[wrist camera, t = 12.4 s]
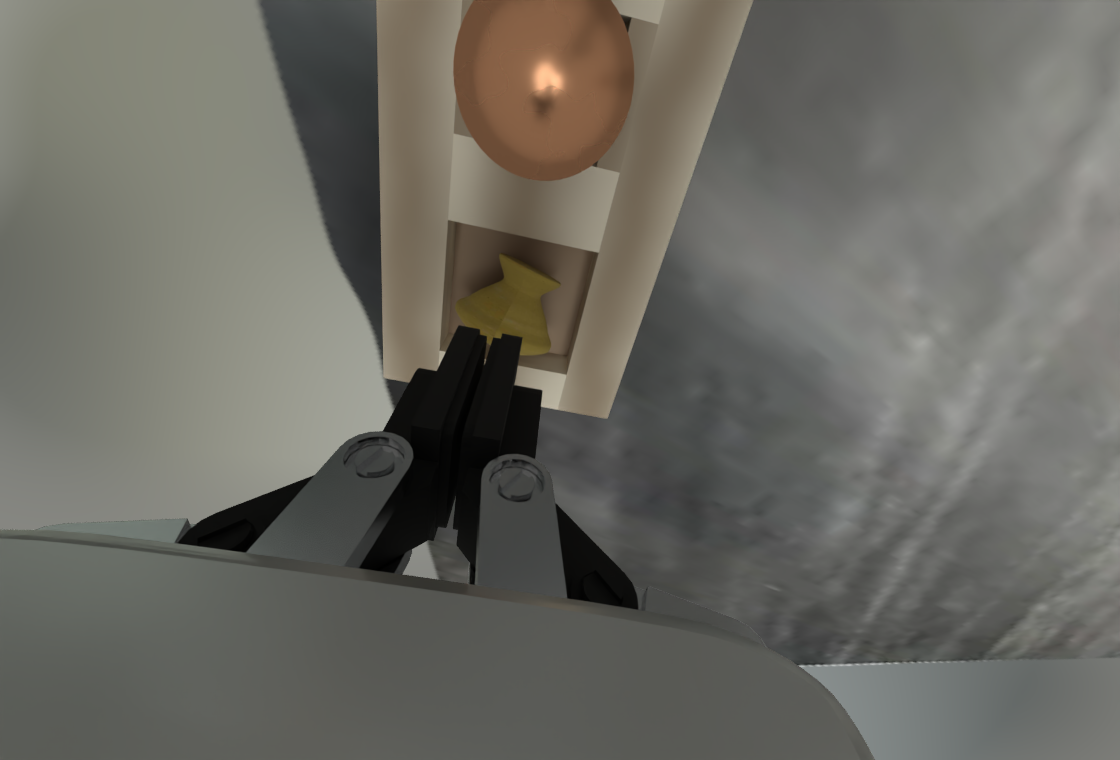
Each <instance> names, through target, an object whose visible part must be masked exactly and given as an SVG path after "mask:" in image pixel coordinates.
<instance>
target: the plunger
mask: <svg viewBox="0 0 1120 760" xmlns="http://www.w3.org/2000/svg"><path fill="white" fill-rule="evenodd" d="M453 77H454V87H455V93H456V98H457V103H458V106H459V109H460V112H461V115H462V118H463V120H464V122H465V124H466V127H467V129H468V130H469V132H470V134H471V135H472V137H473V139H474V140H475V142H476V143H477V144H478V146H479V147H480V148H481V149H482V151H483V152H484V153H485V154H486V155H487V156H488V157H489V158H490V159H491V160H493V161H494V162H495V163H496V164H498V165H499V166H500V167H502V168H504V169H505V170H507V171H508V172H511V173H513V174H515V175H517V176H520V177H523V178H527V179H531V180H537V181H554V180H561V179H565V178H568V177H571V176H574V175H576V174H578V173H581V172H582V171H584V170H586V169H587V168H589V167H591V166H592V165H593V164H594V163H596V162H597V161H598V160H599V159H600V158H601V157H602V156H603V155H604V154H605V153H606V152H607V151H608V150H609V148H610V147H611V146H612V144H613V143H614V142H615V140H616V138H617V137H618V135H619V133H620V132H621V130H622V127H623V125H624V123H625V121H626V118H627V115H628V112H629V109H630V106H631V100H632V95H633V88H634V59H633V52H632V47H631V43H630V39H629V35H628V32H627V29H626V27H625V24H624V21H623V19H622V17H621V15H620V14H619V12H618V10H617V8H616V6H615V5H614V4H613V2H612V1H611V0H474V1H473V2H472V4H471V5H470V7H469V9H468V11H467V13H466V15H465V17H464V19H463V21H462V24H461V27H460V30H459V32H458V36H457V41H456V45H455V52H454V60H453Z"/></svg>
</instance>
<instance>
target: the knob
mask: <svg viewBox="0 0 1120 760" xmlns="http://www.w3.org/2000/svg"><path fill="white" fill-rule="evenodd" d="M499 259H500V262H501V266H502V269H503V273H504V278H503V280H501V281H499V282H497V283H495V284H492V285H490V286H487V287H485V288H482V289H480V290H478V291H477V292H475V293H473V294H471V295H470V296H467V297H464V298H461V299H459V300H458V301H457V302H456V305H455V310H456V312H457V314H458V316H459V317H460V319H461V321H462V322H463V323H464V324H465V326H466V327H472V328H477V329H480V335H484V336H487V343H488V344H490V345H491V343H492V339H493V337H495V338H500V339H501V336H502V333H503V334H509V335H514V336H519V337H523V339H522V345H521V351H520V355H540V354H544V353H547V352H548V351H549V350H550V348H551V341H550V338H549V335H548V329H547V323H546V319H545V315H544V312H543V308H542V304H541V300H540V298H541V296H542V295H543V294H545V293H547V292H550V291H552V290H555V289H557V288H559V287H560V286H561V283H560V282H559V281H557V280H556V279H554V278H552V277H551V276H549V275H547V274H545V273H543V272H542V271H540V270H538V269H536V268H534V267H532V266H530V265H528V264H526V263H524V262H522V261H520V260H518V259H516V258H513V257H511V256H509V255H506V254H504V253H500V254H499Z"/></svg>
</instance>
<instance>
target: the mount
mask: <svg viewBox="0 0 1120 760" xmlns="http://www.w3.org/2000/svg"><path fill="white" fill-rule="evenodd" d="M473 1H474V0H376V2H377V55H378V107H379V159H380V211H381V263H382V315H383V367H384V378H387V379H393V380H398V381H404V382H410V380H411V379H412V377H413V375H414V373H415V371H416V370H417V369H418V368H423V369H429V370H434V371H437V369H438V367H439V365H440V363H441V361H442V359H443V357H444V355H445V352H446V350H447V348H448V346H449V344H450V342H451V340H452V338H453V336H454V333H455V331H456V329H457V327H458V326H459V325H461V326H465V324H464V323H463V322H462V321H461V319H460V317H459V316H458V314H457V312H456V310H455V305H456V302H457V301H458V300H459V299H461V298H464V297H467V296H470V295H471V294H473V293H475V292H477V291H478V290H480V289H482V288H485V287H487V286H490V285H492V284H495V283H497V282H499V281H501V280H503V278H504V273H503V269H502V266H501V262H500V259H499V254H500V253H504V254H506V255H509V256H511V257H513V258H516V259H518V260H520V261H522V262H524V263H526V264H528V265H530V266H532V267H534V268H536V269H538V270H540V271H542V272H543V273H545V274H547V275H549V276H551V277H552V278H554V279H556V280H557V281H559V282H560V283H561V286H560V287H559V288H557V289H555V290H552V291H550V292H547V293H545V294H543V295H542V296H541V298H540V300H541V304H542V308H543V312H544V315H545V319H546V323H547V329H548V335H549V338H550V341H551V348H550V350H549V351H548V352H547V353H544V354H540V355H520V357H519V363H518V368H517V374H516V380H515V385H517V386H523V387H529V388H534V389H540V390H542V391H543V392H542V401H541V407H546V408H551V409H556V410H562V411H567V412H573V413H578V414H584V415H589V416H595V417H600V418H606V419H607V418H608V416H609V413H610V410H611V407H612V404H613V401H614V398H615V395H616V393H617V390H618V387H619V384H620V381H621V378H622V375H623V373H624V370H625V367H626V364H627V361H628V358H629V355H630V352H631V350H632V347H633V344H634V341H635V338H636V335H637V332H638V329H639V327H640V324H641V321H642V318H643V315H644V312H645V309H646V307H647V304H648V301H649V298H650V295H651V292H652V289H653V286H654V284H655V281H656V278H657V275H658V272H659V269H660V266H661V264H662V261H663V258H664V255H665V252H666V249H667V246H668V243H669V241H670V238H671V235H672V232H673V229H674V226H675V223H676V221H677V218H678V215H679V212H680V209H681V206H682V203H683V200H684V198H685V195H686V192H687V189H688V186H689V183H690V180H691V178H692V175H693V172H694V169H695V166H696V163H697V160H698V157H699V155H700V152H701V149H702V146H703V143H704V140H705V137H706V134H707V132H708V129H709V126H710V123H711V120H712V117H713V114H714V112H715V109H716V106H717V103H718V100H719V97H720V94H721V91H722V89H723V86H724V83H725V80H726V77H727V74H728V71H729V69H730V66H731V63H732V60H733V57H734V54H735V51H736V48H737V46H738V43H739V40H740V37H741V34H742V31H743V28H744V26H745V23H746V20H747V17H748V14H749V11H750V8H751V5H752V3H753V0H611V1H612V2H613V4H614V5H615V6H616V8H617V10H618V12H619V14H620V15H621V17H622V19H623V21H624V24H625V27H626V29H627V32H628V35H629V39H630V43H631V47H632V52H633V59H634V88H633V95H632V100H631V106H630V109H629V112H628V115H627V118H626V121H625V123H624V125H623V127H622V130H621V132H620V133H619V135H618V137H617V138H616V140H615V142H614V143H613V144H612V146H611V147H610V148H609V150H608V151H607V152H606V153H605V154H604V155H603V156H602V157H601V158H600V159H599V160H598V161H597V162H596V163H594V164H593V165H592V166H591V167H589V168H587V169H586V170H584V171H582V172H581V173H578V174H576V175H574V176H571V177H568V178H565V179H561V180H554V181H537V180H531V179H527V178H523V177H520V176H517V175H515V174H513V173H511V172H508V171H507V170H505V169H504V168H502V167H500V166H499V165H498V164H496V163H495V162H494V161H493V160H491V159H490V158H489V157H488V156H487V155H486V154H485V153H484V152H483V151H482V149H481V148H480V147H479V146H478V144H477V143H476V142H475V140H474V139H473V137H472V135H471V134H470V132H469V130H468V129H467V127H466V124H465V122H464V120H463V118H462V115H461V112H460V109H459V106H458V103H457V98H456V93H455V87H454V77H453V60H454V52H455V45H456V41H457V36H458V32H459V30H460V27H461V24H462V21H463V19H464V17H465V15H466V13H467V11H468V9H469V7H470V5H471V4H472V2H473ZM490 346H491V345H490V344H488V343H487V344H486V353H485V361H486V358H487V355H488V352H489V349H490ZM485 361H484V364H485Z"/></svg>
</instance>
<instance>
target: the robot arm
mask: <svg viewBox="0 0 1120 760" xmlns="http://www.w3.org/2000/svg"><path fill="white" fill-rule="evenodd" d="M522 339H523V337H519V336H514V335H509V334H503V333H502V336H501V339H500V338H495V337H493V339H492V343H491V346H490V349H489V352H488V355H487V358H486V361H485V353H486V344H487V336H484V335H480V329H477V328H472V327H466V326H461V325H459V326H458V327H457V329H456V331H455V333H454V336H453V338H452V340H451V342H450V344H449V346H448V348H447V350H446V352H445V355H444V357H443V359H442V361H441V363H440V365H439V367H438V369H437V371H434V370H429V369H423V368H418V369H417V370H416V371H415V373H414V375H413V377H412V379H411V380H410V382H409V384H408V386H407V388H406V390H405V391H404V393H403V395H402V397H401V399H400V401H399V402H398V404H397V406H396V408H395V410H394V412H393V413H392V415H391V417H390V419H389V421H388V423H387V425H386V426H385V428H384V430H383V431H380V432H368V433H364V434H360V435H357V436H355V437H353V438H351V439H349V440H348V441H346V442H345V443H344V444H343V445H342V446H340V447H339V449H338V450H337V451H336V452H335V453H334V454H333V455H332V456H331V458H330V459H329V460H328V461H327V462H326V463H325V464H324V466H323V467H322V468H321V469H320V470H319V471H318V472H317V473H316V474H315V475H314V476H312V477H309V478H306V479H304V480H301V481H298V482H296V483H293V484H290V485H288V486H285V487H283V488H280V489H277V490H275V491H272V492H270V493H267V494H264V495H262V496H259V497H257V498H254V499H252V500H249V501H246V502H244V503H241V504H238V505H236V506H233V507H231V508H228V509H225V510H223V511H220V512H218V513H215V514H213V515H211V516H209V517H207V518H205V519H203V520H201V521H200V522H199V523H197V524H189V521H188V519H165V520H141V521H140V520H139V521H116V522H91V523H67V524H58V525H52V526H46V527H42V528H39V529H36V530H0V760H875V759H874V757H873V755H872V753H871V752H870V749H869V747H868V746H867V744H866V742H865V740H864V739H863V737H862V735H861V734H860V732H859V730H858V728H857V727H856V725H855V724H854V722H853V721H852V719H851V718H850V716H849V715H848V713H847V712H846V710H845V709H844V708H843V707H842V705H841V704H840V703H839V702H838V701H837V699H836V698H835V697H834V695H833V694H832V693H831V692H830V691H828V689H826V688H825V687H824V686H823V685H822V684H821V683H820V682H819V681H818V680H817V679H815V678H814V677H813V676H811V675H810V674H809V673H807V672H806V671H805V670H804V669H802V668H801V667H799V666H798V665H796V664H795V663H793V662H792V661H790V660H789V659H787V658H785V657H783V656H781V655H780V654H778V653H776V652H774V651H772V650H771V649H769V648H767V647H766V646H765V644H764V643H763V641H762V639H761V638H760V636H758V635H757V634H756V633H755V632H754V631H753V630H752V629H751V628H750V627H749V626H748V625H746V624H744V623H742V622H740V621H739V620H737V619H734V618H732V617H729V616H726V615H724V614H721V613H718V612H716V611H713V610H711V609H708V608H705V607H703V606H700V605H697V604H695V603H692V602H689V601H687V600H684V599H681V598H679V597H676V596H673V595H671V594H668V593H666V592H663V591H660V590H658V589H655V588H652V587H650V586H648V587H647V589H646V590H643V589H640V588H637V587H635V586H633V584H632V582H631V581H630V580H629V578H628V577H627V576H626V574H625V573H624V572H623V571H622V570H621V569H620V568H619V567H618V566H617V565H616V564H615V563H614V562H613V561H612V560H611V559H610V558H609V557H608V556H607V555H606V554H605V553H604V552H603V551H602V550H601V549H600V548H599V547H598V546H597V545H596V544H595V543H594V542H593V541H592V540H591V539H590V538H589V537H588V536H587V535H586V534H585V533H584V532H583V531H582V530H581V529H580V528H579V527H578V526H577V524H576V523H575V522H574V521H573V520H572V519H571V518H570V517H569V516H568V515H567V514H566V513H565V512H564V511H563V510H562V509H561V508H560V507H559V506H558V505H557V504H556V503H555V498H554V490H553V482H552V478H551V475H550V473H549V471H548V470H547V469H546V467H545V466H544V465H543V464H541V463H540V462H539V461H537V460H536V459H535V454H536V446H537V437H538V428H539V419H540V410H541V401H542V392H543V391H542V390H540V389H534V388H529V387H523V386H517V385H515V380H516V374H517V368H518V363H519V357H520V351H521V345H522ZM484 361H485V364H484ZM455 496H456V502H455V512H454V523H453V529H456V530H458V536H457V546H458V547H459V549H460V550H461V551H462V553H463V554H464V555H465V557H466V558H467V559H468V561H469V562H470V563H469V572H468V584H465V583H458V582H451V581H444V580H437V579H430V578H423V577H416V576H409V575H402V574H403V572H404V570H405V568H406V566H407V564H408V562H409V560H410V557H411V554H412V549H413V548H415V547H417V546H418V545H420V544H422V543H424V542H426V541H427V540H431V541H434V538H435V535H436V531H437V528H438V527H443V528H446V527H447V524H448V521H449V517H450V514H451V510H452V507H453V503H454V500H455Z"/></svg>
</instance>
